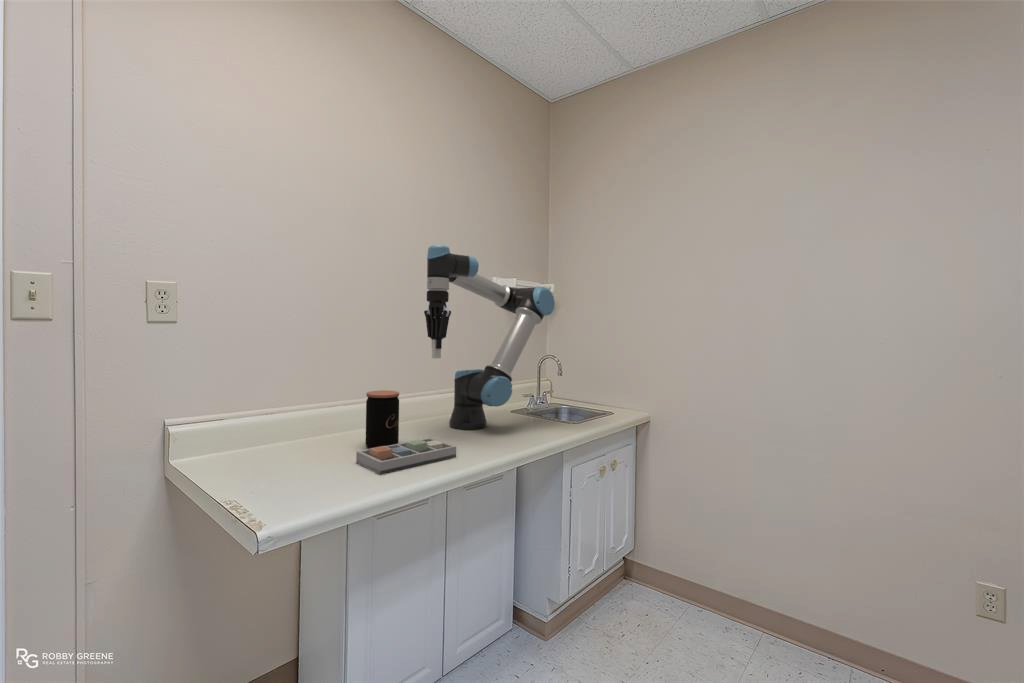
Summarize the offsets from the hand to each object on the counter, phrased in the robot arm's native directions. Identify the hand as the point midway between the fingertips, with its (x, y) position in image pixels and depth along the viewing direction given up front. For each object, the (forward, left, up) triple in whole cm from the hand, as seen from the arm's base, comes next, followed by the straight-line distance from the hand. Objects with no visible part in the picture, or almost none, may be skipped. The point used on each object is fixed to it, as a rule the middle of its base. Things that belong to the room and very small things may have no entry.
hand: (436, 358), depth 160 cm
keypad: (+19, +13, -29) cm, 37 cm away
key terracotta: (+28, +13, -27) cm, 41 cm away
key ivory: (+10, +13, -28) cm, 33 cm away
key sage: (+16, +13, -27) cm, 34 cm away
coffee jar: (+17, -6, -30) cm, 35 cm away
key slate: (+22, +13, -28) cm, 38 cm away
